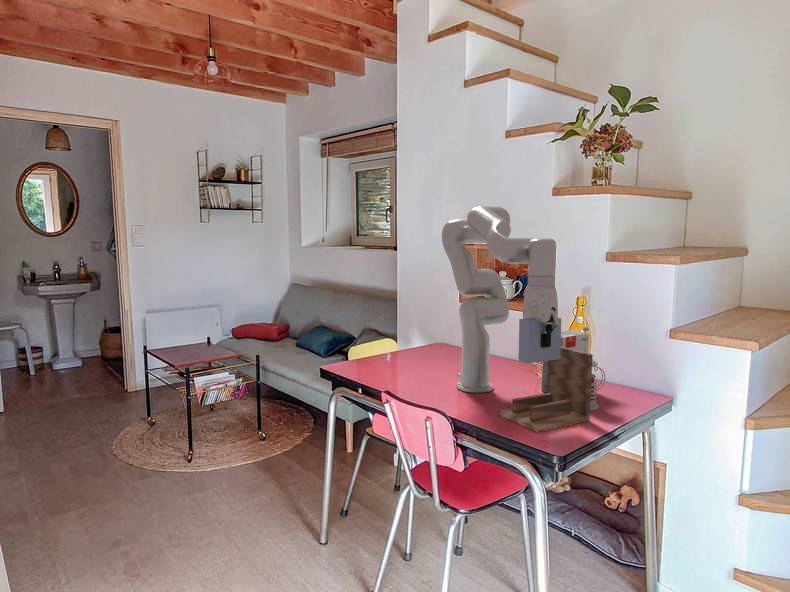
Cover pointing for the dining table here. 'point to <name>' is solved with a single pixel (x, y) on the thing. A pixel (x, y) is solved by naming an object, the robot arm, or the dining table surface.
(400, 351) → the dining table surface
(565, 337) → the hard drive box
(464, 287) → the robot arm
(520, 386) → the dining table surface
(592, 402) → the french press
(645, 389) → the dining table surface
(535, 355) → the book
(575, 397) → the book rack
